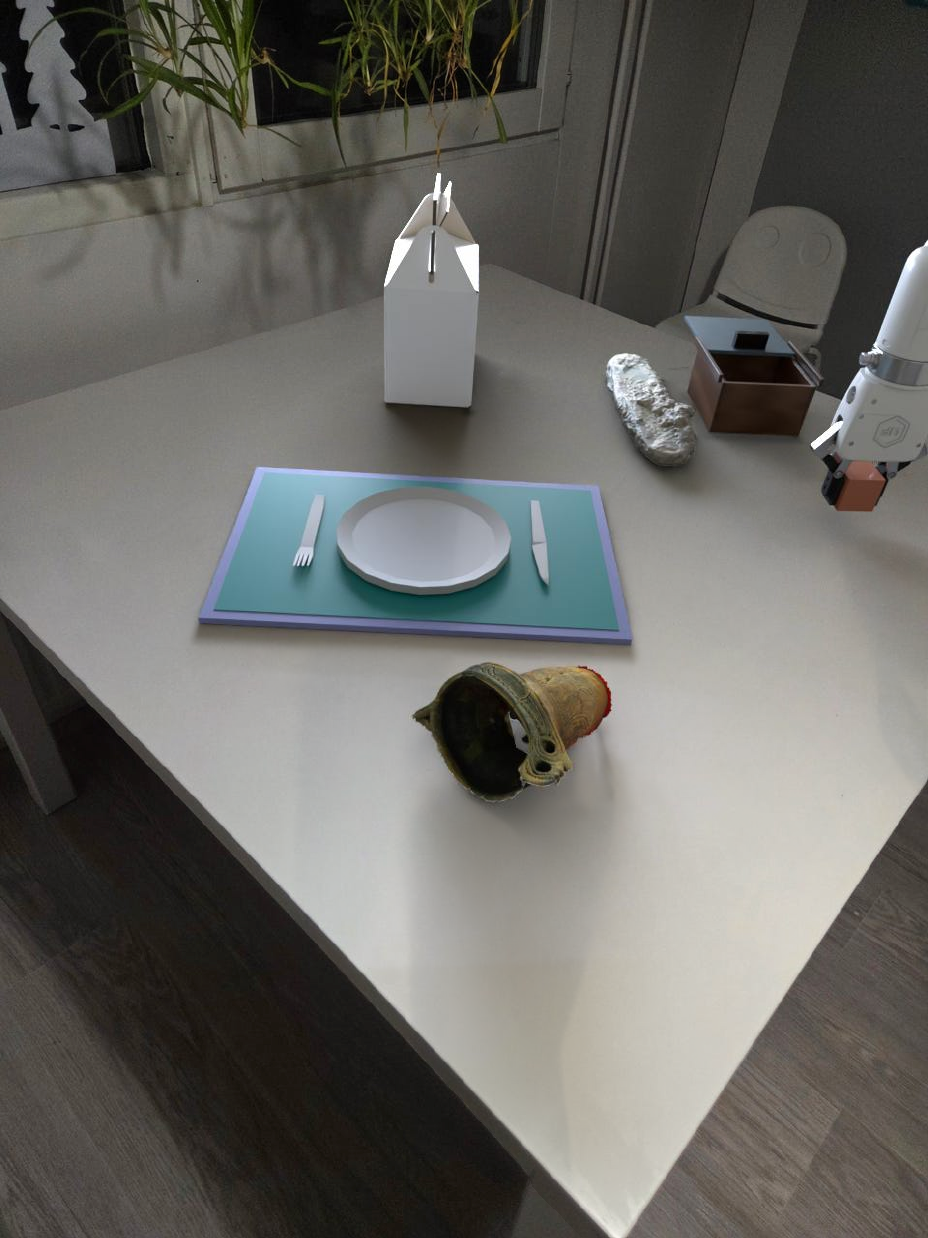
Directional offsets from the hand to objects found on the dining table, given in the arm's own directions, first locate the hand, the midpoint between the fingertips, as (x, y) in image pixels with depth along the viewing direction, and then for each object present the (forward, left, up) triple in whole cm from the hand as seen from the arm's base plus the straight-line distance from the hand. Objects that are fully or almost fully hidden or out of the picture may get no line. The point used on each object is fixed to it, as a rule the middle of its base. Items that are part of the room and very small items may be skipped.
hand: (848, 498), depth 106 cm
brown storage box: (+4, -30, -3) cm, 30 cm away
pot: (+46, +41, -3) cm, 62 cm away
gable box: (+53, -39, -3) cm, 66 cm away
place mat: (+54, +9, -3) cm, 55 cm away
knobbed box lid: (+4, -40, +5) cm, 40 cm away
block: (0, 0, 0) cm, 0 cm away
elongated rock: (+20, -28, -3) cm, 35 cm away
